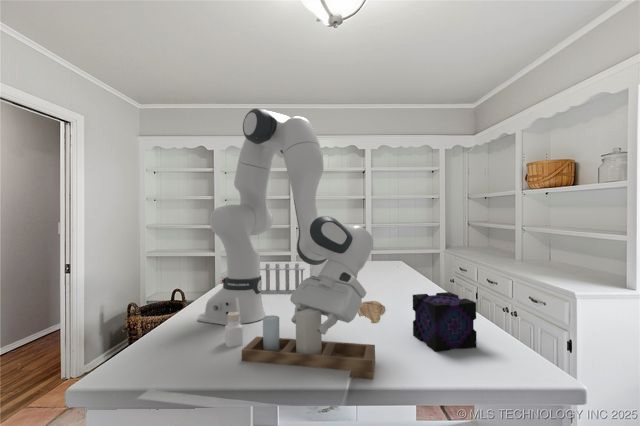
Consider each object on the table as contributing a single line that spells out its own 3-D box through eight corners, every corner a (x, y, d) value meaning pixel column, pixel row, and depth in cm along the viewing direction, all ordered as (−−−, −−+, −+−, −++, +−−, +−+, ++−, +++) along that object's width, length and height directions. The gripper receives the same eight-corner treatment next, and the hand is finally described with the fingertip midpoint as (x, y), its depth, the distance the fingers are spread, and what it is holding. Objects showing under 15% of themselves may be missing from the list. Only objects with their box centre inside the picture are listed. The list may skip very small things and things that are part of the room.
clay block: (296, 358, 81) (295, 312, 81) (311, 352, 85) (311, 308, 85) (305, 363, 79) (305, 315, 79) (321, 356, 82) (321, 311, 82)
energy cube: (450, 332, 102) (449, 292, 102) (476, 347, 91) (476, 302, 91) (413, 335, 100) (412, 294, 100) (435, 352, 88) (434, 305, 88)
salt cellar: (260, 357, 82) (260, 320, 82) (266, 350, 86) (266, 315, 86) (276, 358, 81) (276, 321, 81) (282, 352, 85) (281, 315, 85)
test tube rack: (249, 294, 153) (248, 264, 153) (251, 291, 158) (251, 263, 157) (305, 293, 152) (304, 264, 152) (305, 291, 157) (305, 262, 157)
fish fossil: (389, 325, 110) (389, 321, 110) (357, 327, 111) (357, 323, 111) (380, 302, 136) (379, 299, 136) (354, 304, 137) (354, 301, 137)
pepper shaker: (224, 348, 92) (224, 312, 92) (239, 345, 94) (238, 310, 94) (228, 353, 89) (227, 316, 89) (243, 350, 91) (243, 314, 91)
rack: (241, 367, 81) (241, 350, 81) (256, 351, 89) (256, 336, 89) (372, 379, 74) (372, 360, 74) (375, 361, 83) (375, 344, 83)
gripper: (302, 268, 94) (273, 311, 87) (359, 278, 79) (329, 331, 72) (315, 282, 97) (287, 324, 90) (372, 294, 82) (344, 346, 75)
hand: (306, 327), depth 81 cm, fingers open, 8 cm apart
